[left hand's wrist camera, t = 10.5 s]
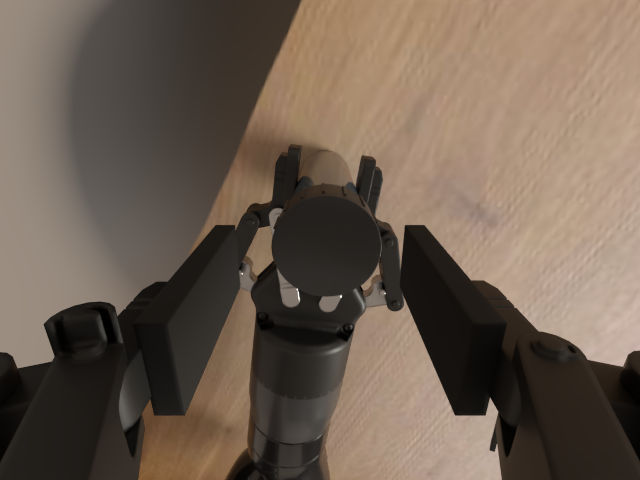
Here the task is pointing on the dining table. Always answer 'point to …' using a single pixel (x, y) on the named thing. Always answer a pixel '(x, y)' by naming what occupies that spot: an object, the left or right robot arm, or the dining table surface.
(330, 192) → the lid
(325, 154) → the jar
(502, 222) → the dining table surface
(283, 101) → the dining table surface
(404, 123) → the dining table surface
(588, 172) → the dining table surface
